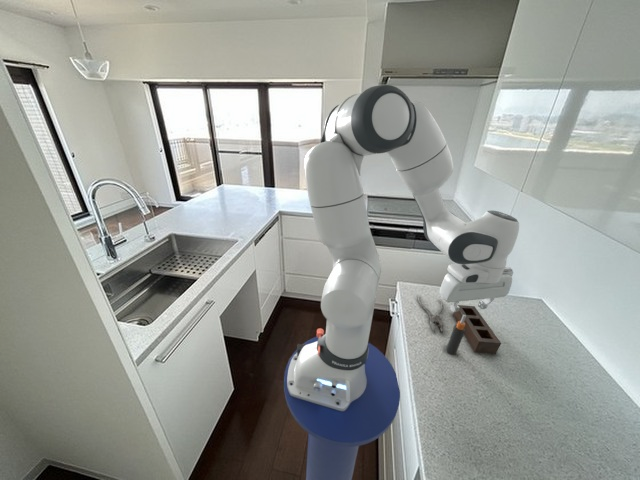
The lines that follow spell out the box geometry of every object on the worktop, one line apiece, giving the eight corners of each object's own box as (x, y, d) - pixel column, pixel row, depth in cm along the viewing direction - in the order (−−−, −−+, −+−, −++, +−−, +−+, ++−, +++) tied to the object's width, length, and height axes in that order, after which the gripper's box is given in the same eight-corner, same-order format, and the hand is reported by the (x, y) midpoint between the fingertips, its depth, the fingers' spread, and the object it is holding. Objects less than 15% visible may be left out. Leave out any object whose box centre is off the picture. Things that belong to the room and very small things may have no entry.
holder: (474, 352, 83) (479, 341, 81) (452, 314, 99) (456, 304, 97) (495, 354, 83) (501, 343, 81) (470, 316, 99) (474, 306, 97)
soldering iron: (448, 354, 82) (461, 318, 75) (444, 346, 85) (457, 311, 78) (457, 355, 82) (472, 319, 75) (453, 347, 85) (467, 312, 78)
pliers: (439, 296, 107) (461, 332, 89) (438, 298, 108) (461, 334, 90) (416, 295, 107) (434, 330, 89) (415, 296, 108) (433, 332, 90)
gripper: (505, 261, 74) (490, 299, 80) (442, 265, 70) (431, 305, 76) (525, 273, 69) (506, 312, 75) (458, 278, 65) (444, 320, 71)
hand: (468, 309), depth 75 cm, fingers open, 8 cm apart
